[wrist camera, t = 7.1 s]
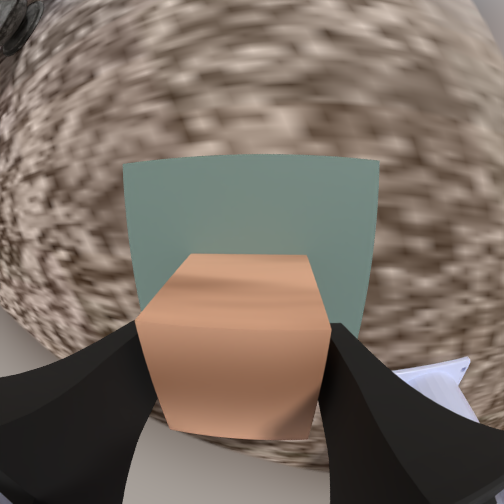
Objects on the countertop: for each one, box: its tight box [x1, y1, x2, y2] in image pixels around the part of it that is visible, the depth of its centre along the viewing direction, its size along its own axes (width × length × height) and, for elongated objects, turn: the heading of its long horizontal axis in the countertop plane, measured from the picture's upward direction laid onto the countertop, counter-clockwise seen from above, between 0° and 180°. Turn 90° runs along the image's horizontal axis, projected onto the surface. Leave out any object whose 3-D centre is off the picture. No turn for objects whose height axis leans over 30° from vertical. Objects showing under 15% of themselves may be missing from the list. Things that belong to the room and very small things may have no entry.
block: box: [135, 254, 332, 440], centre depth 9 cm, size 4×4×5 cm
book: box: [123, 154, 379, 339], centre depth 12 cm, size 12×10×2 cm
